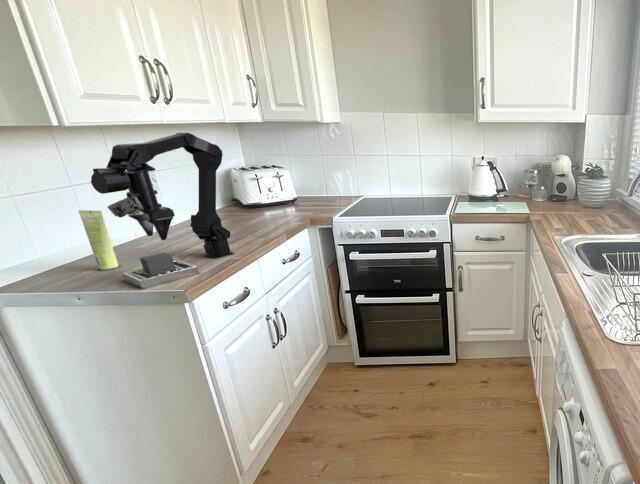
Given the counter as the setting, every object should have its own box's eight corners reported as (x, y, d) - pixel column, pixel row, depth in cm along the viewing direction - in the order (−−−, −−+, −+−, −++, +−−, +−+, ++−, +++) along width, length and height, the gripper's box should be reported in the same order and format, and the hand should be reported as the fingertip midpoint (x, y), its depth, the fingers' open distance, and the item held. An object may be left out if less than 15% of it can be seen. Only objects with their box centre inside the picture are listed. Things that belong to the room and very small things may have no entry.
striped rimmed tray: (180, 266, 139) (177, 259, 138) (198, 273, 133) (196, 266, 132) (124, 280, 127) (121, 273, 126) (142, 288, 121) (139, 280, 120)
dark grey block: (169, 267, 133) (164, 252, 132) (176, 269, 131) (171, 254, 129) (144, 273, 128) (139, 257, 126) (151, 275, 126) (146, 260, 124)
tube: (121, 264, 142) (102, 207, 136) (121, 267, 139) (100, 210, 132) (99, 267, 139) (78, 210, 132) (98, 271, 135) (76, 212, 129)
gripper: (93, 189, 122) (112, 240, 128) (119, 194, 113) (138, 249, 119) (139, 184, 131) (155, 231, 136) (167, 188, 122) (182, 239, 128)
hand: (157, 237), depth 130 cm, fingers open, 9 cm apart
